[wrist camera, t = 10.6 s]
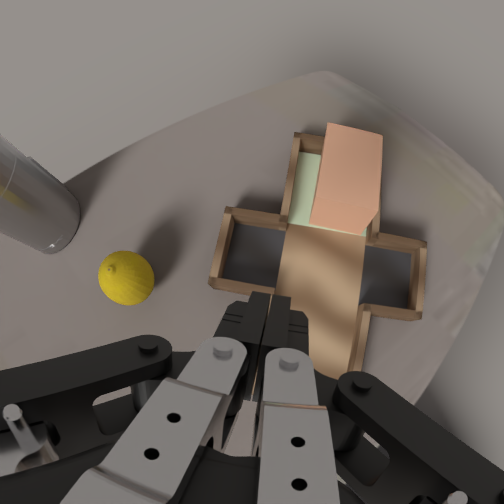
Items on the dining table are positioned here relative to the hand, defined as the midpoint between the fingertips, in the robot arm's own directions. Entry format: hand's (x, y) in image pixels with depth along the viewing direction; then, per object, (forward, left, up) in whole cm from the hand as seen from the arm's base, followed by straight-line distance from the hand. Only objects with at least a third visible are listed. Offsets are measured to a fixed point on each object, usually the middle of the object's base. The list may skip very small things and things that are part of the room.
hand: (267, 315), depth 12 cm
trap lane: (-4, +8, -21) cm, 23 cm away
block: (-10, +14, -21) cm, 27 cm away
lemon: (-11, -11, -22) cm, 27 cm away
